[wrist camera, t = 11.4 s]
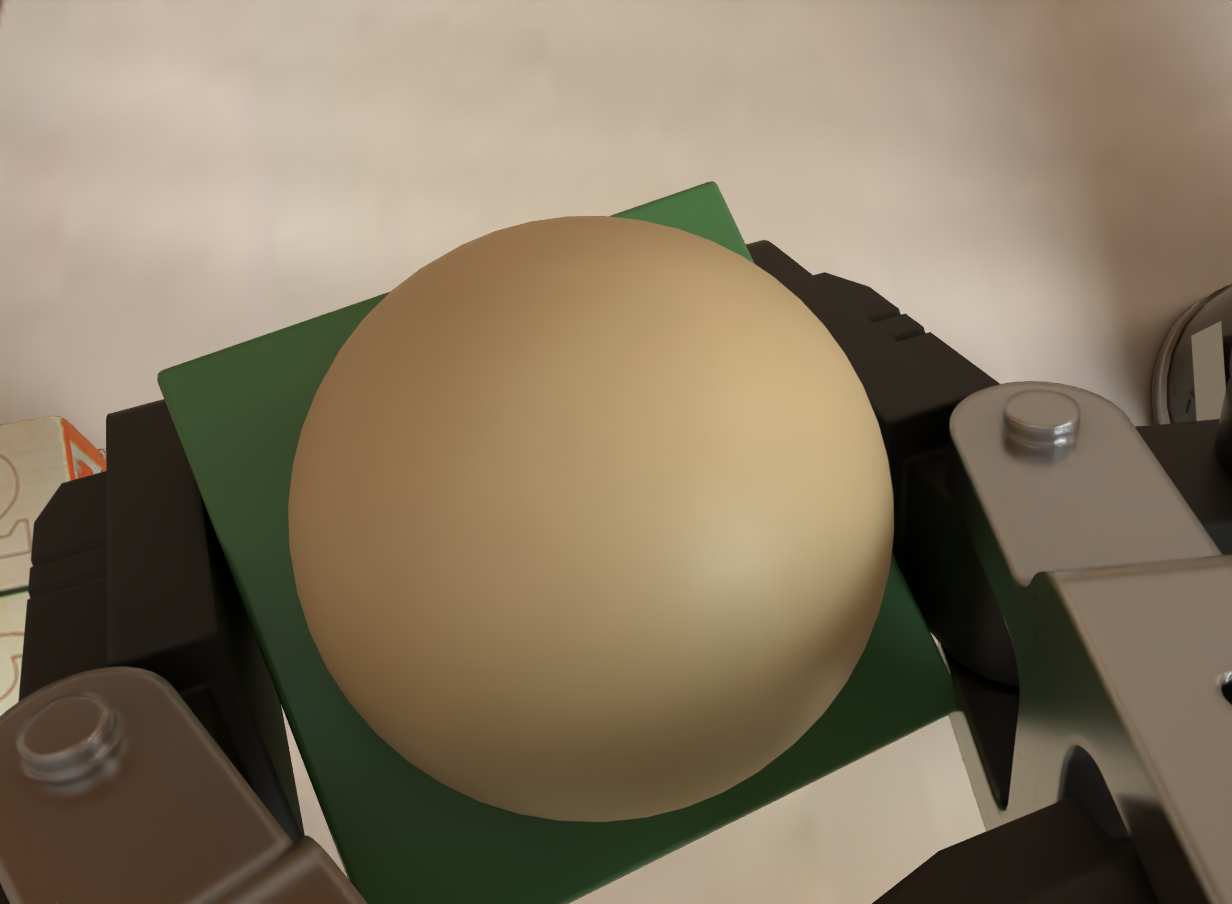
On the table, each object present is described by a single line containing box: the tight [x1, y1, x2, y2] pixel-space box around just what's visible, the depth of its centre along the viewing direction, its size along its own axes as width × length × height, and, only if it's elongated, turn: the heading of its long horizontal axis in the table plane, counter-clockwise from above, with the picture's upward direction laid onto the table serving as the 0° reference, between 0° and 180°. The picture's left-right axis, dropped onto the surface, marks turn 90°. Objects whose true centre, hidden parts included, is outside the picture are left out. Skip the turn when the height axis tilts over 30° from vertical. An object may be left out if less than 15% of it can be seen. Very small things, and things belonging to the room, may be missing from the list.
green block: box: [157, 182, 956, 904], centre depth 11 cm, size 5×5×10 cm
